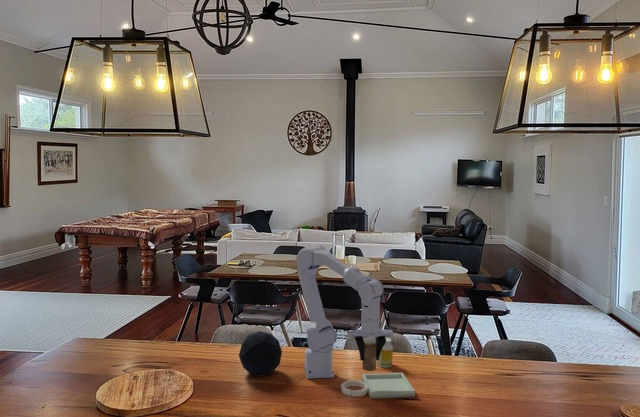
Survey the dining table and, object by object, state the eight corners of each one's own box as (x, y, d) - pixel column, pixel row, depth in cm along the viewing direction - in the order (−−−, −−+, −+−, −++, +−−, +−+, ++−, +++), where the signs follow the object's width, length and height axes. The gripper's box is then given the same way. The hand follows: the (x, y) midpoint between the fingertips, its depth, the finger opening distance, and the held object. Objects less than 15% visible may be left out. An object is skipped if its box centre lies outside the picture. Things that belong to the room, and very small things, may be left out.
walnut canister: (363, 371, 157) (364, 346, 157) (361, 365, 162) (361, 341, 161) (377, 370, 158) (378, 346, 157) (374, 365, 162) (375, 341, 161)
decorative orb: (235, 349, 179) (238, 324, 169) (276, 346, 183) (281, 321, 173) (239, 386, 169) (242, 361, 159) (282, 381, 173) (288, 357, 163)
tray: (370, 398, 154) (371, 392, 154) (361, 379, 168) (361, 373, 167) (414, 396, 155) (414, 390, 155) (402, 378, 169) (402, 372, 169)
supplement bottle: (374, 364, 181) (375, 338, 181) (384, 361, 185) (385, 335, 184) (385, 369, 177) (385, 342, 176) (395, 365, 180) (396, 339, 180)
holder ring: (343, 396, 155) (343, 392, 154) (339, 385, 163) (339, 380, 163) (370, 395, 156) (370, 391, 155) (364, 384, 164) (364, 380, 164)
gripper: (350, 321, 154) (349, 364, 155) (395, 321, 155) (394, 363, 156) (346, 315, 161) (345, 356, 162) (390, 314, 162) (389, 355, 163)
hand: (369, 359), depth 159 cm, fingers closed on walnut canister, 4 cm apart
